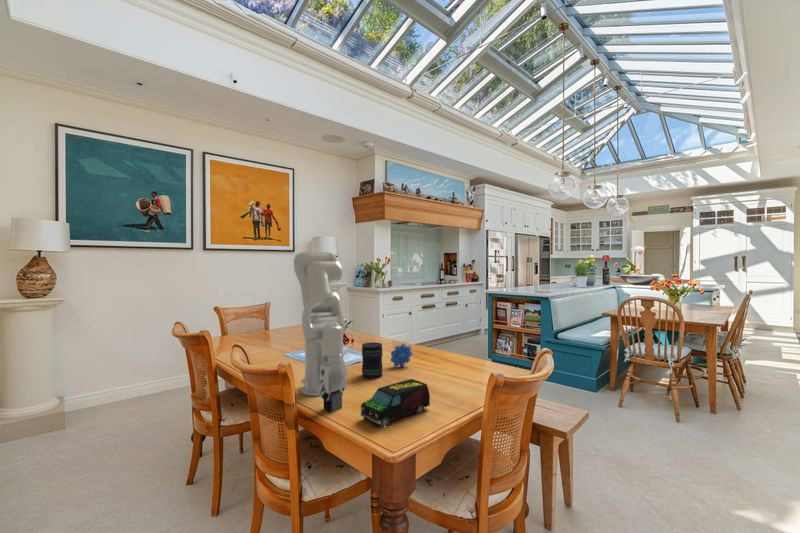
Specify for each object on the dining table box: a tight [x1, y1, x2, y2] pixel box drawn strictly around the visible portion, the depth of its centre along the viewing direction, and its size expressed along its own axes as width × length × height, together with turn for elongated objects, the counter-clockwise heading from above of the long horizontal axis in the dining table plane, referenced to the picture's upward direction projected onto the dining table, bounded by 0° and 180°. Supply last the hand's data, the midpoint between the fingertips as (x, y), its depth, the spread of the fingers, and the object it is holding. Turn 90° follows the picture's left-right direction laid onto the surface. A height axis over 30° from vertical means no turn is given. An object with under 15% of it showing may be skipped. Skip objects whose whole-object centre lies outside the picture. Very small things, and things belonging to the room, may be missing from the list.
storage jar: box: [361, 341, 384, 380], centre depth 170 cm, size 10×10×15 cm
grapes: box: [390, 343, 413, 367], centre depth 186 cm, size 12×7×12 cm, turn 100°
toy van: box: [359, 378, 431, 429], centre depth 126 cm, size 11×25×10 cm, turn 131°
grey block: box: [326, 391, 343, 413], centre depth 131 cm, size 5×4×6 cm
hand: (332, 407), depth 131 cm, fingers closed on grey block, 4 cm apart
